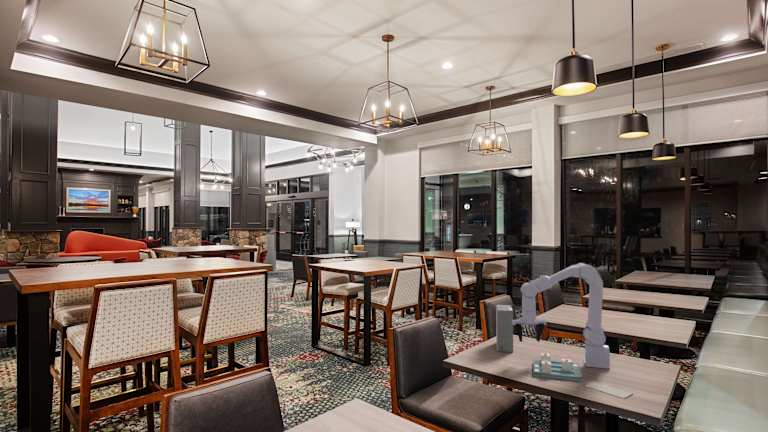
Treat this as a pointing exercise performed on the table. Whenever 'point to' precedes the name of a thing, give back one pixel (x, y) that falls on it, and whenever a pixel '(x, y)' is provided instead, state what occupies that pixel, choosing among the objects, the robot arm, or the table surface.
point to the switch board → (557, 371)
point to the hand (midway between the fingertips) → (529, 341)
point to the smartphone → (609, 390)
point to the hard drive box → (504, 328)
